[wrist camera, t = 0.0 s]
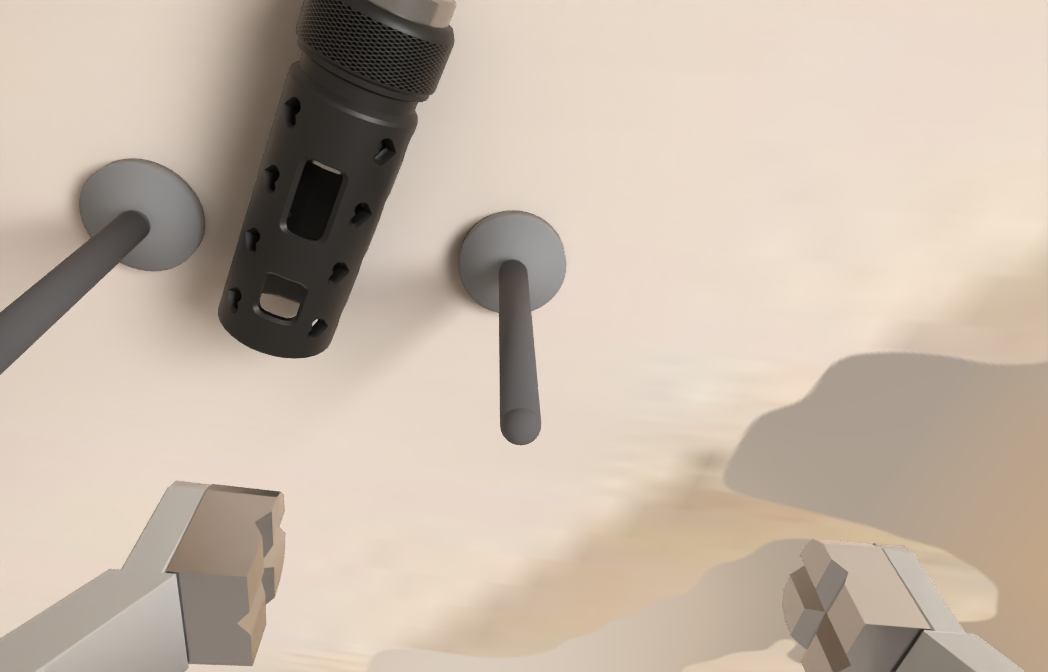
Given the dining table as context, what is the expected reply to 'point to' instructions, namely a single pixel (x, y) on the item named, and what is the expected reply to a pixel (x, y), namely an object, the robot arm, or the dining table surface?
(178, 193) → the post
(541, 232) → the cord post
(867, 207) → the dining table surface
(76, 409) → the dining table surface
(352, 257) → the muzzle brake
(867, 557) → the robot arm
